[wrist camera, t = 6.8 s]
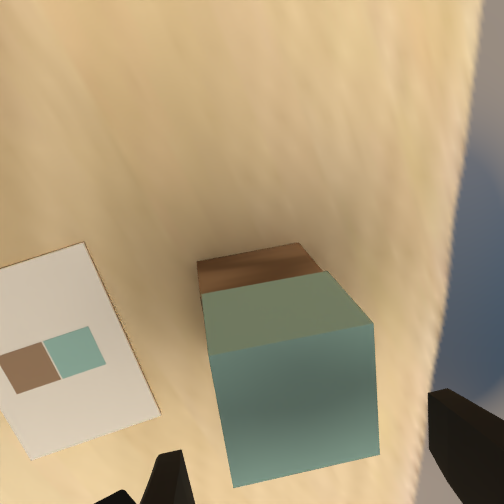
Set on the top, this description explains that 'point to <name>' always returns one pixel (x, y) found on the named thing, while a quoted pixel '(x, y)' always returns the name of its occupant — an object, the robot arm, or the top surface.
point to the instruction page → (65, 355)
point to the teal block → (292, 376)
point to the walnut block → (254, 268)
